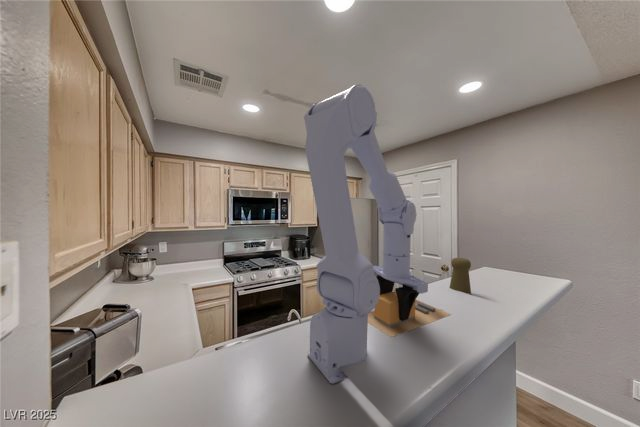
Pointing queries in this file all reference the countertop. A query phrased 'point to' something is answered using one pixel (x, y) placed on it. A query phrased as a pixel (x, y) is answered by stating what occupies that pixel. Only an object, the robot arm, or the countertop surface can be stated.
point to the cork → (460, 275)
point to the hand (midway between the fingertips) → (394, 314)
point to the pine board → (409, 325)
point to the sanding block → (390, 310)
